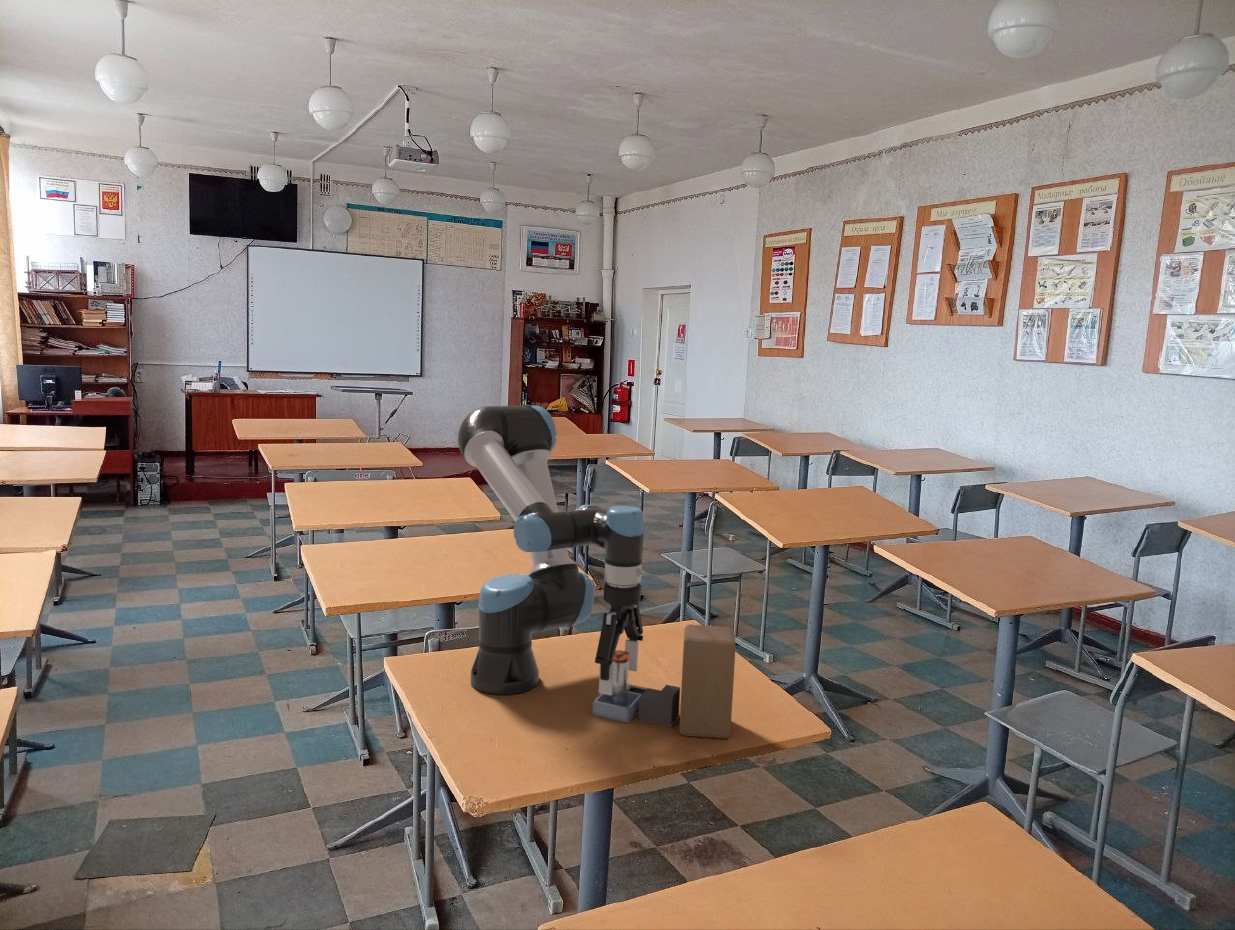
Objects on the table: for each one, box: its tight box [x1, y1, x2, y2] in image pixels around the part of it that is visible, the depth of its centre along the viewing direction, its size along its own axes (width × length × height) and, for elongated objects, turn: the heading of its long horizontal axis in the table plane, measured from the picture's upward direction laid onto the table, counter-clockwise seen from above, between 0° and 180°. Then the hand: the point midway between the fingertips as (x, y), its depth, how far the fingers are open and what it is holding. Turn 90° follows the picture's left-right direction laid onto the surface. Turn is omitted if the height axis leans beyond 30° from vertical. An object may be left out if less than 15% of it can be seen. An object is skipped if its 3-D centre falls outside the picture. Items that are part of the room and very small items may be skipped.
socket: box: [628, 683, 648, 694], centre depth 187 cm, size 7×7×2 cm
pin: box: [610, 649, 630, 707], centre depth 180 cm, size 4×4×12 cm
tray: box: [592, 691, 642, 724], centre depth 180 cm, size 8×8×3 cm
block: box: [678, 624, 737, 739], centre depth 173 cm, size 10×10×20 cm
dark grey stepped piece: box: [638, 684, 681, 727], centre depth 178 cm, size 7×5×6 cm
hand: (618, 681), depth 180 cm, fingers open, 13 cm apart
